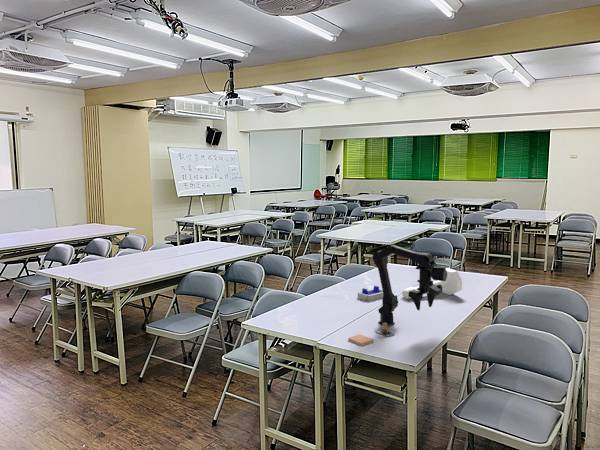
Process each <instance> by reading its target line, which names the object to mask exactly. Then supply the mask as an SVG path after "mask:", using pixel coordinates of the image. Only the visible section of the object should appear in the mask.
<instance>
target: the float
mask: <svg viewBox="0 0 600 450" xmlns="http://www.w3.org/2000/svg"><path fill="white" fill-rule="evenodd" d="M375 333H376V334H378V335H381V336H384V337H387V338H390V337H392V336H394V335H395V333H393V332H391V331H388V326H387V323H386V322H383V324H382V329H379V330H377V331H375Z"/></svg>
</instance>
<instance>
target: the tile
mask: <svg viewBox="0 0 600 450" xmlns="http://www.w3.org/2000/svg"><path fill="white" fill-rule="evenodd" d="M347 338H348V339H347V340H348V341H349V342H351V343H354V344H356V345H358V346H360V347H363V346H366V345H369V344H372V343H374V342H375V340H374V338H371V337H370V336H366V335H364V334H361V333H359V334H356V335H353V336H350V337H347Z"/></svg>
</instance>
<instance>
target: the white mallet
mask: <svg viewBox="0 0 600 450" xmlns="http://www.w3.org/2000/svg"><path fill="white" fill-rule="evenodd" d="M446 271H447V279H446V281H439V280H433V284H434V285H442V292H441V293H444V294H446V295H447V296H451V295H454V294H456V293H458V292H460V291H462V290H463V278H462V277H461V276H460V274H459V272H458V270H456V269H452V268H449V267H446ZM417 288H419V285H418V286H416V287H413V286H410V287H407V288H405V289H403V290H402V291H401V294H402V297H403V299H406V300H412V298H410V297H409V296H408V294H409V292H410V291H413V290H416V291H419V290H417Z"/></svg>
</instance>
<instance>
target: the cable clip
mask: <svg viewBox="0 0 600 450" xmlns="http://www.w3.org/2000/svg"><path fill="white" fill-rule="evenodd" d="M372 289H373V291H372V292H371V293H370V294H369V293H368V291H367V290H368V288H364V287H363V288H362V291H361V292H362V293H363V294H366V295H371V294H375V293H379V289H380V286H378V285H374V286H373V288H372Z"/></svg>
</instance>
